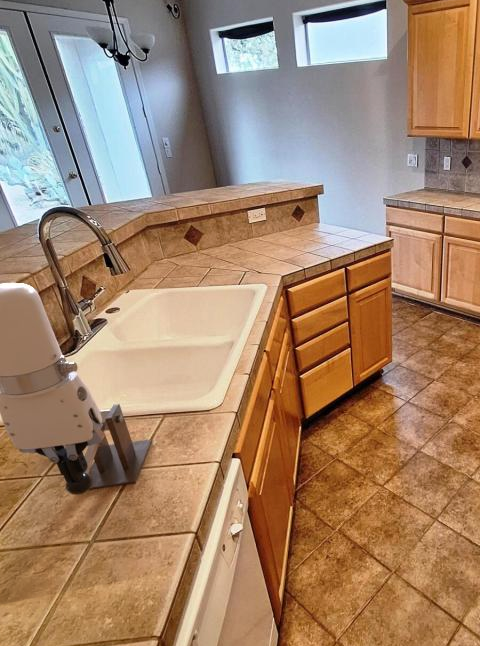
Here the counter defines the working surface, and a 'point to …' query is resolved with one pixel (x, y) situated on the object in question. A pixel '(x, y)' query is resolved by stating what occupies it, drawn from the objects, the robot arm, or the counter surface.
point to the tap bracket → (118, 455)
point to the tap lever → (86, 479)
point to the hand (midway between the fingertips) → (77, 475)
